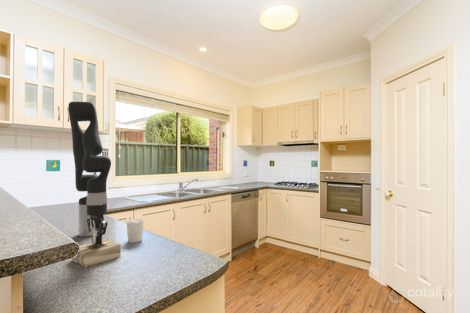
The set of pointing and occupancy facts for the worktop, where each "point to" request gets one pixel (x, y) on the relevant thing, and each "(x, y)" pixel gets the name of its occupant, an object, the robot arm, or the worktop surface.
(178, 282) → the worktop surface
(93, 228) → the steel pin
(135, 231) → the white cup
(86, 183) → the robot arm
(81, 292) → the worktop surface
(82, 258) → the wooden peg hole block
